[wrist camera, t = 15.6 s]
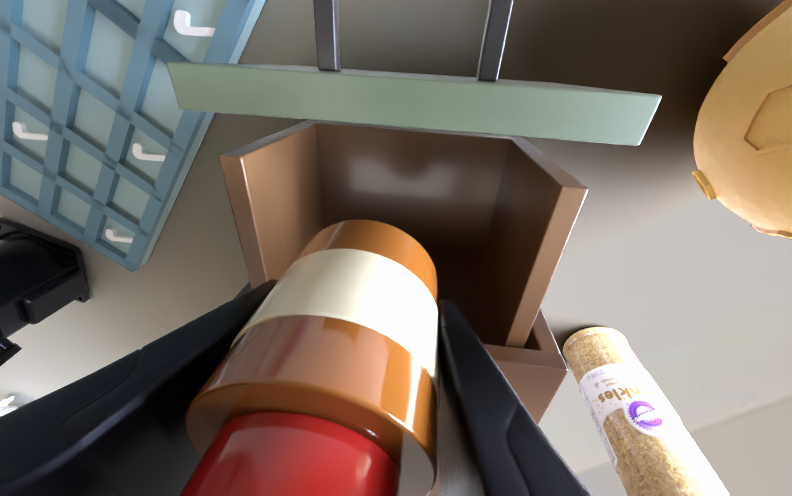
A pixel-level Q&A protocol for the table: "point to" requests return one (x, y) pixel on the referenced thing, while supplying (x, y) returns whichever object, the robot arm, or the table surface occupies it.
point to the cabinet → (523, 369)
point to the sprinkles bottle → (637, 420)
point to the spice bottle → (329, 377)
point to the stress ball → (751, 127)
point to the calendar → (106, 110)
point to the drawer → (415, 165)
